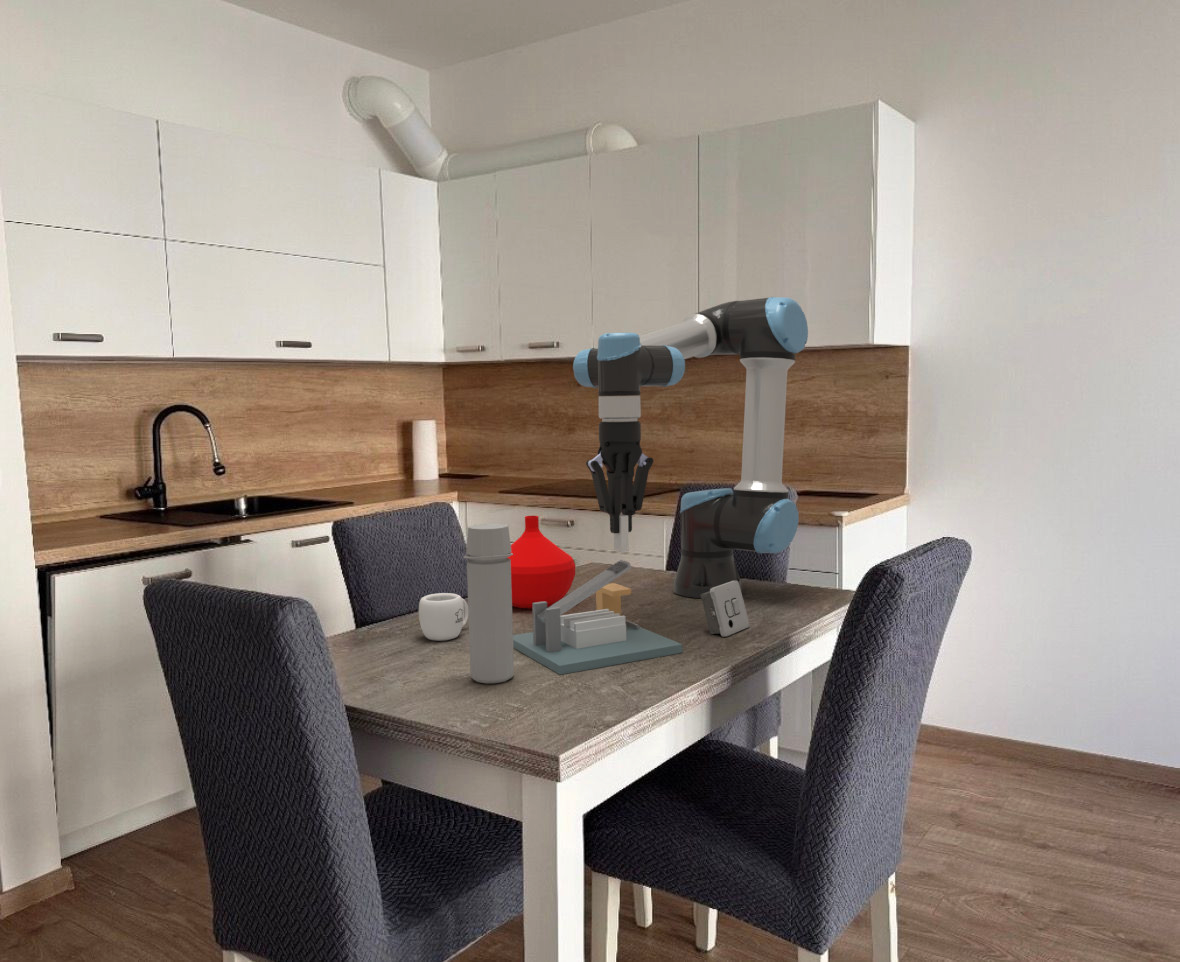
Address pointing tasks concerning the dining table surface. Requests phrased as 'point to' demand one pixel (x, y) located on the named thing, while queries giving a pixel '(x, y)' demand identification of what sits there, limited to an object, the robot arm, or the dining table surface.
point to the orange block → (611, 597)
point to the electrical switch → (725, 609)
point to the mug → (442, 615)
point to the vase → (538, 568)
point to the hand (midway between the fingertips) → (621, 550)
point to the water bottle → (490, 603)
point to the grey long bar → (589, 588)
